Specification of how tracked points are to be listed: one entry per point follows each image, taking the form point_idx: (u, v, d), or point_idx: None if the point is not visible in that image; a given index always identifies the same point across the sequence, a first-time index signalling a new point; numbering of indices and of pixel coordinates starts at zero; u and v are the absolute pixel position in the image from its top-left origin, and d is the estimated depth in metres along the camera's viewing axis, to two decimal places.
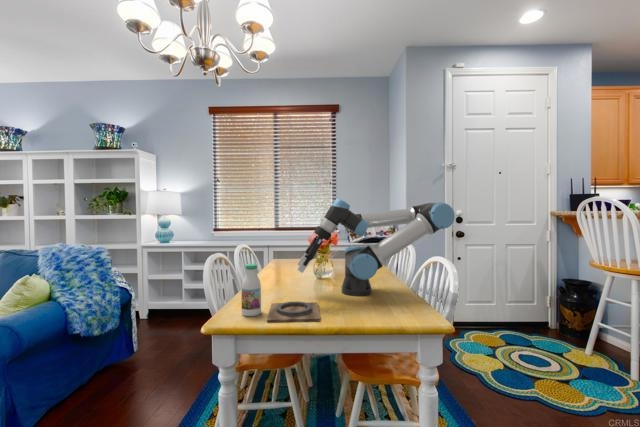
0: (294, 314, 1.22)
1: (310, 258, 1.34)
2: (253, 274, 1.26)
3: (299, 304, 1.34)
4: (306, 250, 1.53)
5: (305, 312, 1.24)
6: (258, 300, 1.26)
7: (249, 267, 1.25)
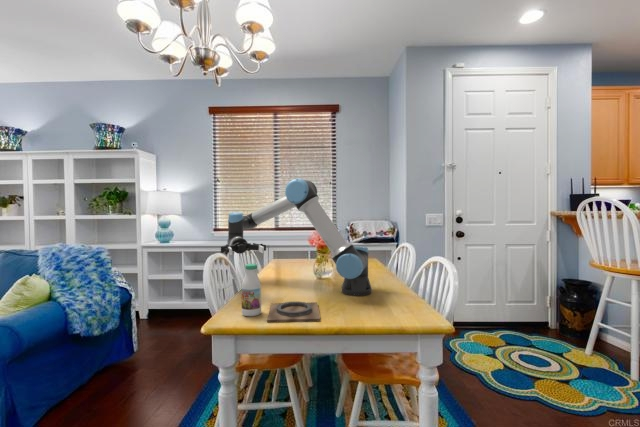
0: (294, 314, 1.22)
1: (221, 249, 1.39)
2: (253, 274, 1.26)
3: (299, 304, 1.34)
4: None
5: (305, 312, 1.24)
6: (258, 300, 1.26)
7: (249, 267, 1.25)
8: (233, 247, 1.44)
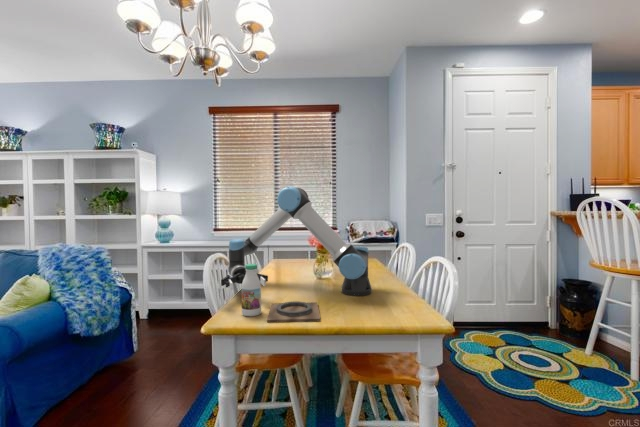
0: (294, 314, 1.22)
1: (221, 282, 1.34)
2: (253, 274, 1.26)
3: (299, 304, 1.34)
4: (265, 281, 1.42)
5: (305, 312, 1.24)
6: (258, 300, 1.26)
7: (249, 267, 1.25)
8: (234, 279, 1.39)
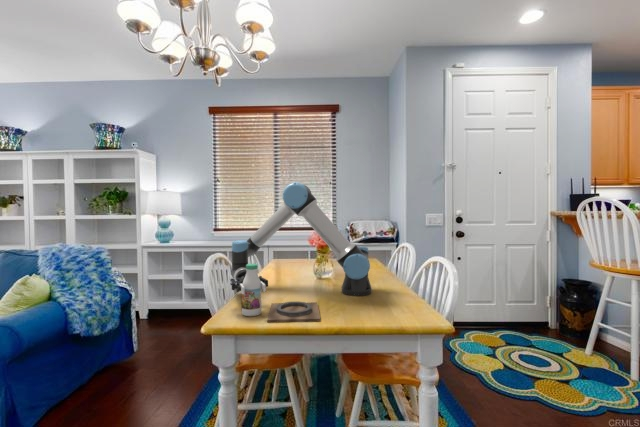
0: (294, 314, 1.22)
1: (232, 286, 1.27)
2: (253, 274, 1.26)
3: (299, 304, 1.34)
4: None
5: (305, 312, 1.24)
6: (258, 300, 1.26)
7: (250, 267, 1.25)
8: (242, 282, 1.32)
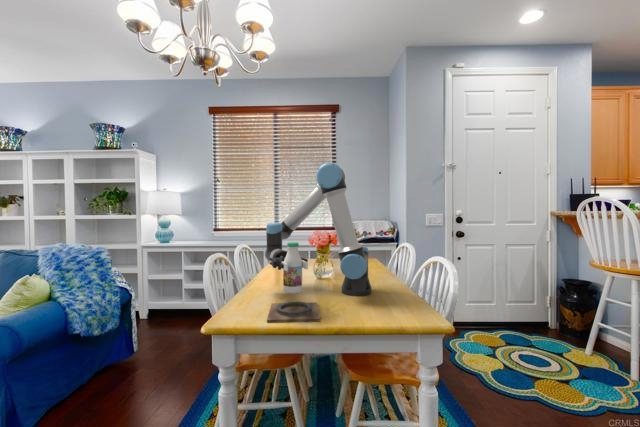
0: (294, 314, 1.22)
1: (273, 264, 1.28)
2: (295, 252, 1.27)
3: (299, 304, 1.34)
4: None
5: (305, 312, 1.24)
6: (300, 277, 1.27)
7: (292, 245, 1.26)
8: None
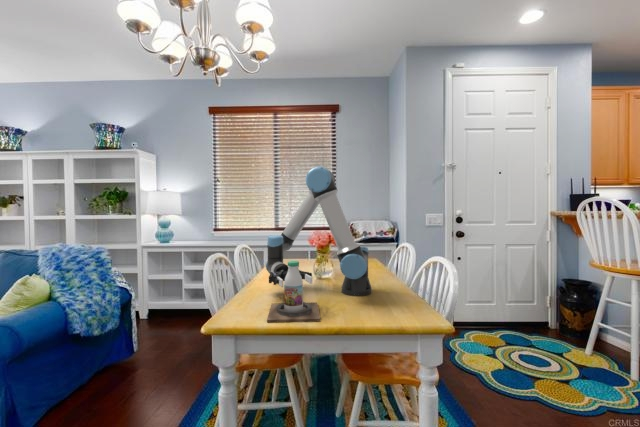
0: (294, 314, 1.22)
1: (269, 279, 1.28)
2: (296, 271, 1.27)
3: None
4: None
5: (305, 312, 1.24)
6: (301, 297, 1.27)
7: (292, 264, 1.26)
8: (280, 276, 1.33)
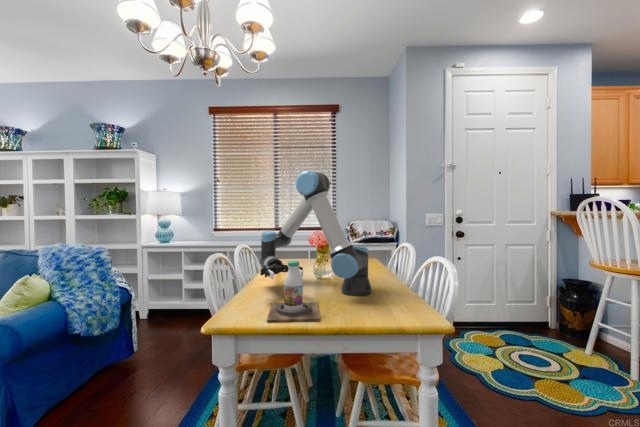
0: (294, 314, 1.22)
1: None
2: (296, 271, 1.27)
3: None
4: None
5: (305, 312, 1.24)
6: (301, 297, 1.27)
7: (292, 264, 1.26)
8: (271, 269, 1.45)
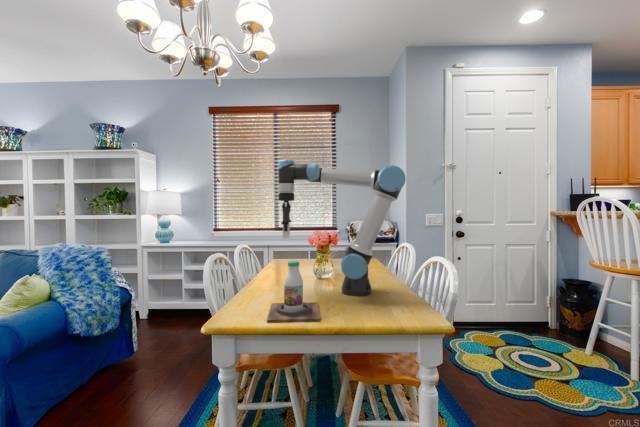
0: (294, 314, 1.22)
1: (286, 222, 1.42)
2: (296, 271, 1.27)
3: None
4: None
5: (305, 312, 1.24)
6: (301, 297, 1.27)
7: (292, 264, 1.26)
8: None
